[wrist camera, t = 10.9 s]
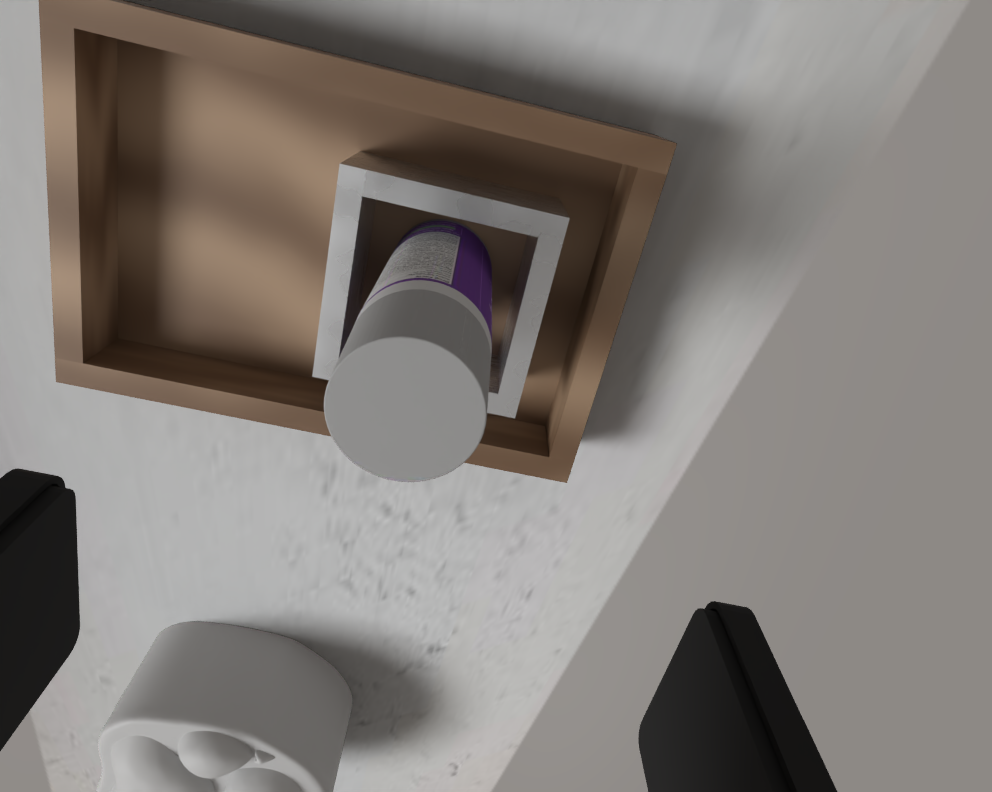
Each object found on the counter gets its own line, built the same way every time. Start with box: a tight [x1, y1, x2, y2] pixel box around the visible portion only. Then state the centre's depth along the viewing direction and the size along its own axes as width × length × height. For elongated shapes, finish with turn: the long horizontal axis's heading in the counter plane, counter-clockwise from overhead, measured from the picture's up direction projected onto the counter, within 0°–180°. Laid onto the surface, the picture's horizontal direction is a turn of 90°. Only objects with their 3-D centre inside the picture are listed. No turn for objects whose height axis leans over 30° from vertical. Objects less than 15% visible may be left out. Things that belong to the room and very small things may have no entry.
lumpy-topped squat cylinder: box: [96, 621, 353, 792], centre depth 41 cm, size 10×13×9 cm
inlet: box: [312, 151, 570, 418], centre depth 30 cm, size 9×9×4 cm
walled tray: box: [39, 0, 677, 483], centre depth 31 cm, size 16×24×4 cm, turn 77°
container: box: [324, 219, 492, 482], centre depth 25 cm, size 5×5×15 cm
